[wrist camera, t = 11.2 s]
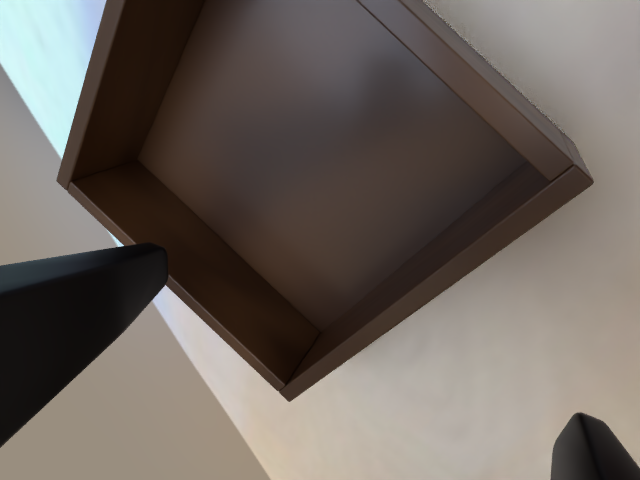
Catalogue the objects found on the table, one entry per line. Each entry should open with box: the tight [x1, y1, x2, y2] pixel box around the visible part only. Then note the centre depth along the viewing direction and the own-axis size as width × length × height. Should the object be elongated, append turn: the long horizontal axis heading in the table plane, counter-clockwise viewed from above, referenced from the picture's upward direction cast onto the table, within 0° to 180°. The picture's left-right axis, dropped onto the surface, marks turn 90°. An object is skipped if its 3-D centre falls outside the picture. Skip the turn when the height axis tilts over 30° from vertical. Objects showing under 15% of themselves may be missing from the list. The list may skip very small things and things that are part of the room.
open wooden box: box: [57, 0, 594, 402], centre depth 18 cm, size 17×17×5 cm
